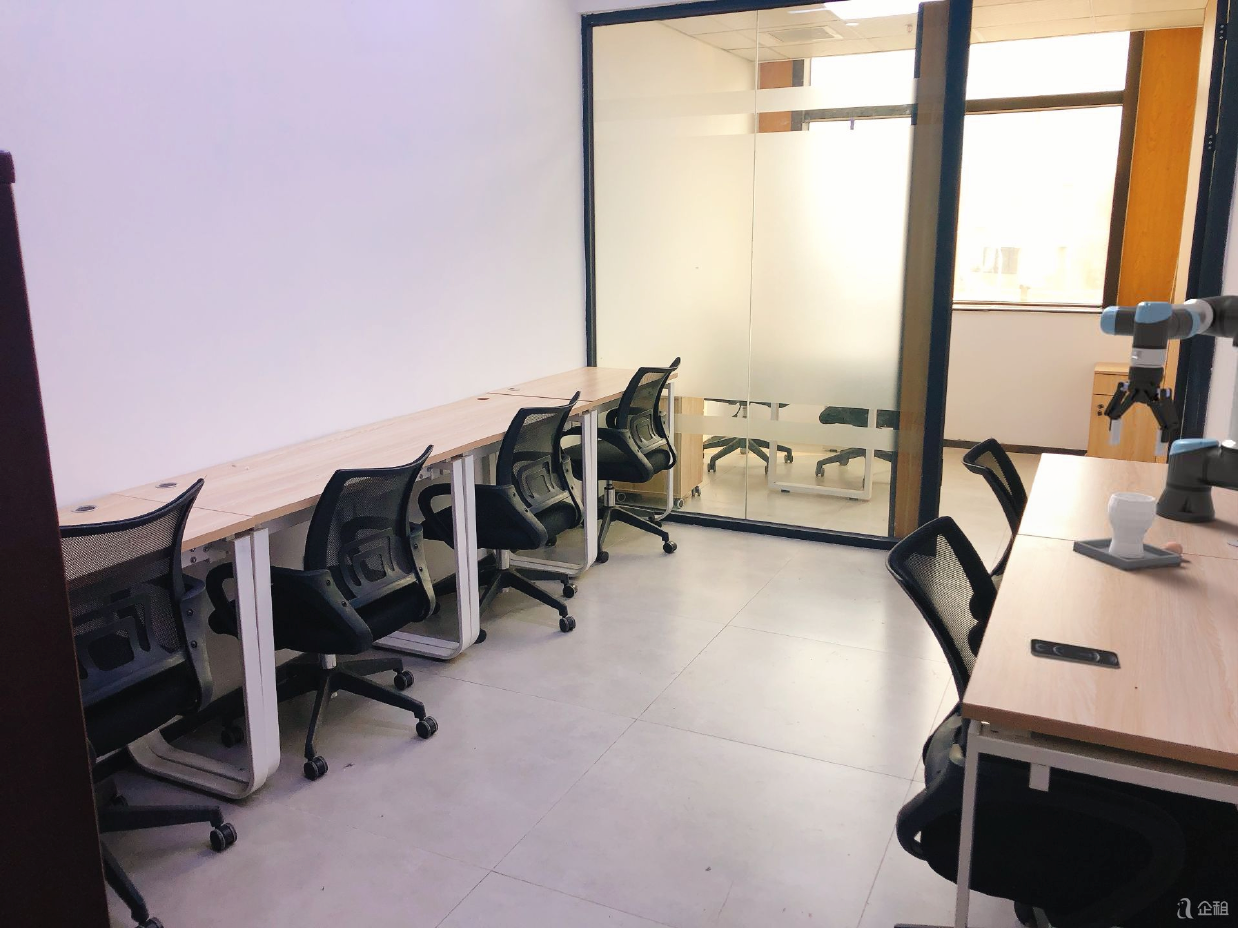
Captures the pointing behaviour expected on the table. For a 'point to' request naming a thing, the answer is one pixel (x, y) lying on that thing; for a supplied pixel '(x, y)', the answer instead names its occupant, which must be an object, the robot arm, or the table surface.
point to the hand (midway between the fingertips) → (1136, 450)
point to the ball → (1174, 547)
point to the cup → (1130, 522)
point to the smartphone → (1074, 653)
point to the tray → (1150, 558)
